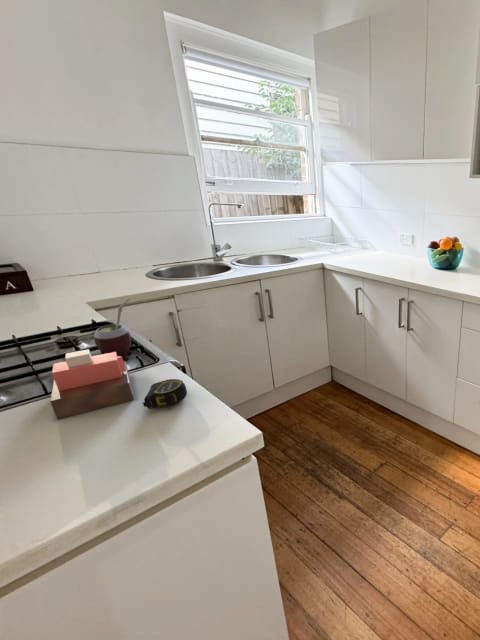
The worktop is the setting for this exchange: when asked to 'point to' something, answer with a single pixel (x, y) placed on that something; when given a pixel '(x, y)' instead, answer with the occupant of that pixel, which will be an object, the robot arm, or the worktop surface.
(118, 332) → the mate gourd
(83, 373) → the pink rectangular bar
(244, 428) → the worktop surface
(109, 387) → the wood block
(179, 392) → the tape measure
